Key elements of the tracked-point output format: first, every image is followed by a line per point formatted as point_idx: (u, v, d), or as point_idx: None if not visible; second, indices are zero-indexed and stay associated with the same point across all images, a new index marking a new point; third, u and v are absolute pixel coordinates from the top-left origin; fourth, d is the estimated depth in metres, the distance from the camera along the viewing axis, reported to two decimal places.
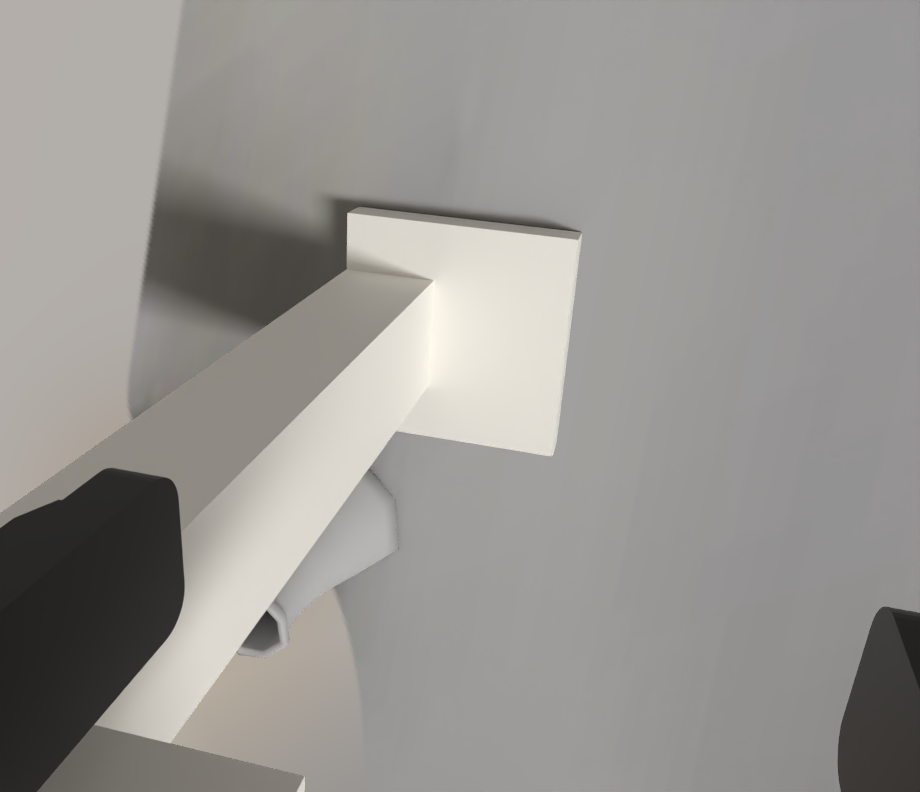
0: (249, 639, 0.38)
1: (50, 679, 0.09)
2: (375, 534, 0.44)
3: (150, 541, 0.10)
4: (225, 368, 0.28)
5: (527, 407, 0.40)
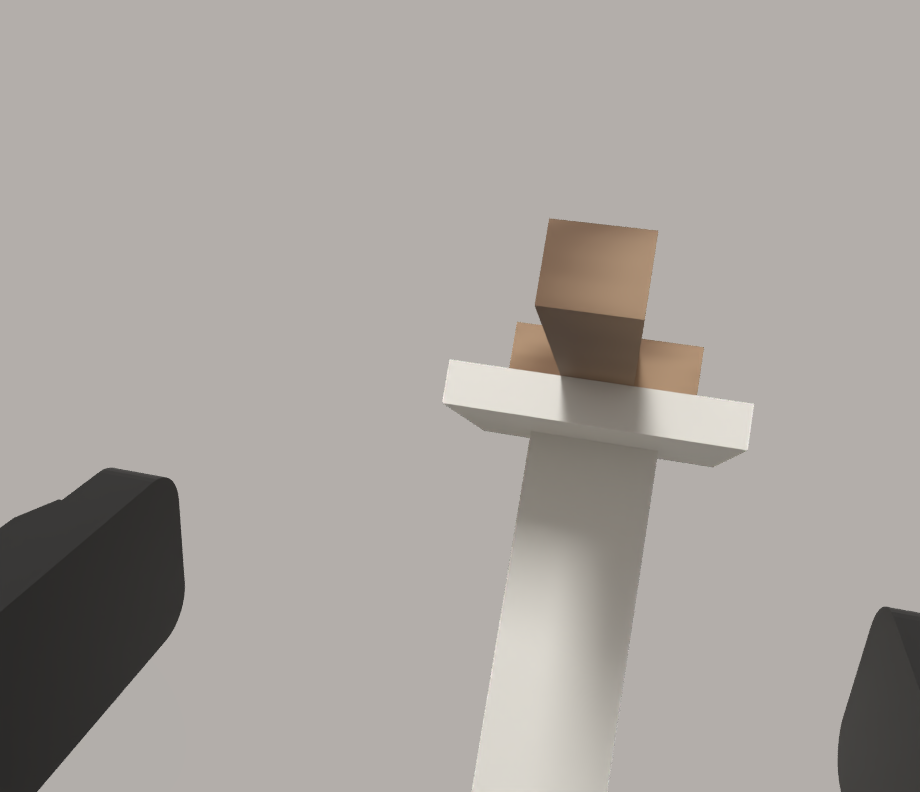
0: None
1: (49, 680, 0.09)
2: None
3: (150, 541, 0.10)
4: None
5: None
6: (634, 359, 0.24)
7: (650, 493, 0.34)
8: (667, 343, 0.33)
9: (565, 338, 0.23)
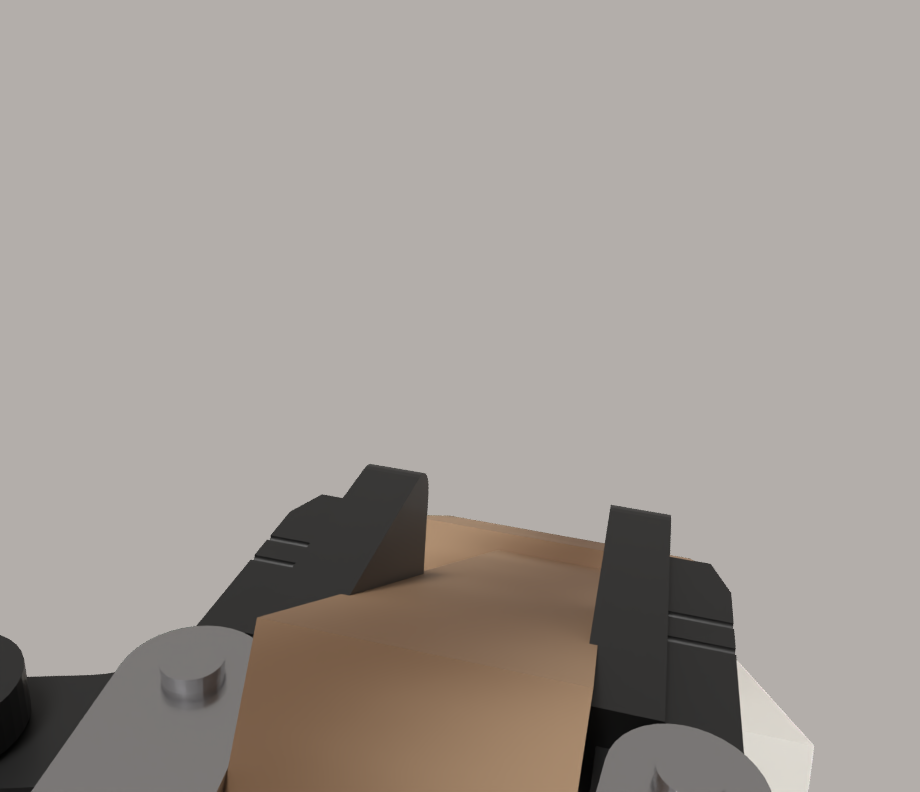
0: None
1: None
2: None
3: (413, 534, 0.11)
4: None
5: None
6: None
7: None
8: None
9: None
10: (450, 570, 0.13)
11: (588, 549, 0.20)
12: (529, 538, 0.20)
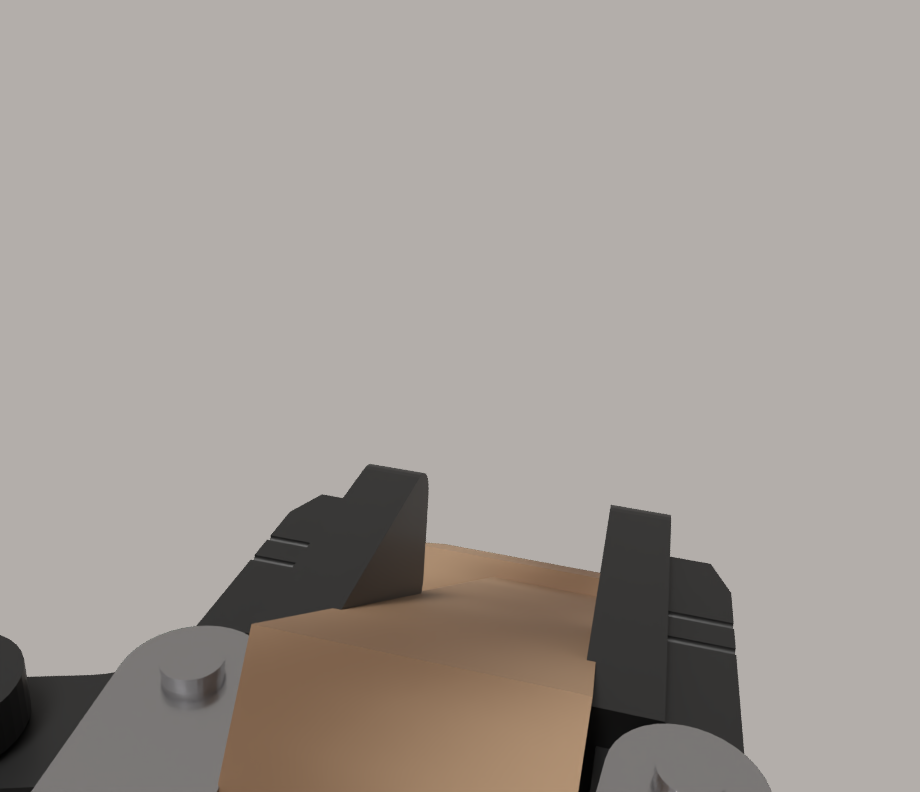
0: None
1: None
2: None
3: (413, 534, 0.11)
4: None
5: None
6: None
7: None
8: None
9: None
10: (446, 592, 0.13)
11: (584, 576, 0.19)
12: (525, 565, 0.20)
